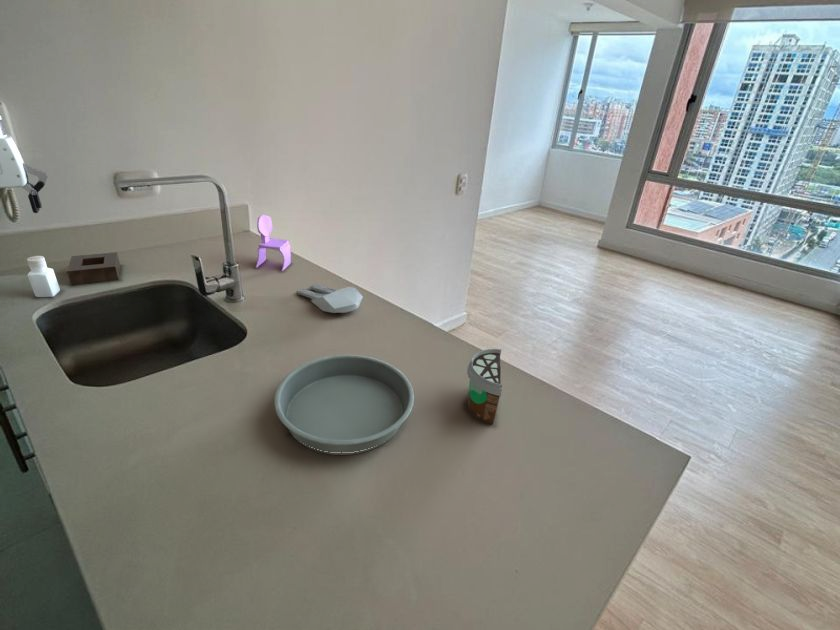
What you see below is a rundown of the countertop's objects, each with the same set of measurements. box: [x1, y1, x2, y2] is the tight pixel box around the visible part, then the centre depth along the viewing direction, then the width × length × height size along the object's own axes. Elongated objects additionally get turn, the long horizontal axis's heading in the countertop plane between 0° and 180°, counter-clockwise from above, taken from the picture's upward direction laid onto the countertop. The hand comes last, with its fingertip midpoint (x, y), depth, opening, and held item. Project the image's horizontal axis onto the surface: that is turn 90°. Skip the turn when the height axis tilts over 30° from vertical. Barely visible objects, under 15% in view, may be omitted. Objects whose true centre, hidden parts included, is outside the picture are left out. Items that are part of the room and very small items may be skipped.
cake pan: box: [273, 354, 415, 456], centre depth 81 cm, size 25×25×4 cm
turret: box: [296, 283, 363, 314], centre depth 117 cm, size 10×20×5 cm, turn 50°
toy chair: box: [255, 214, 292, 272], centre depth 131 cm, size 8×9×15 cm
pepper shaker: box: [26, 255, 61, 298], centre depth 107 cm, size 4×4×10 cm
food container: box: [466, 348, 503, 425], centre depth 85 cm, size 12×6×10 cm, turn 172°
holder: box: [66, 251, 121, 286], centre depth 119 cm, size 10×10×4 cm
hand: (8, 212), depth 98 cm, fingers open, 9 cm apart
